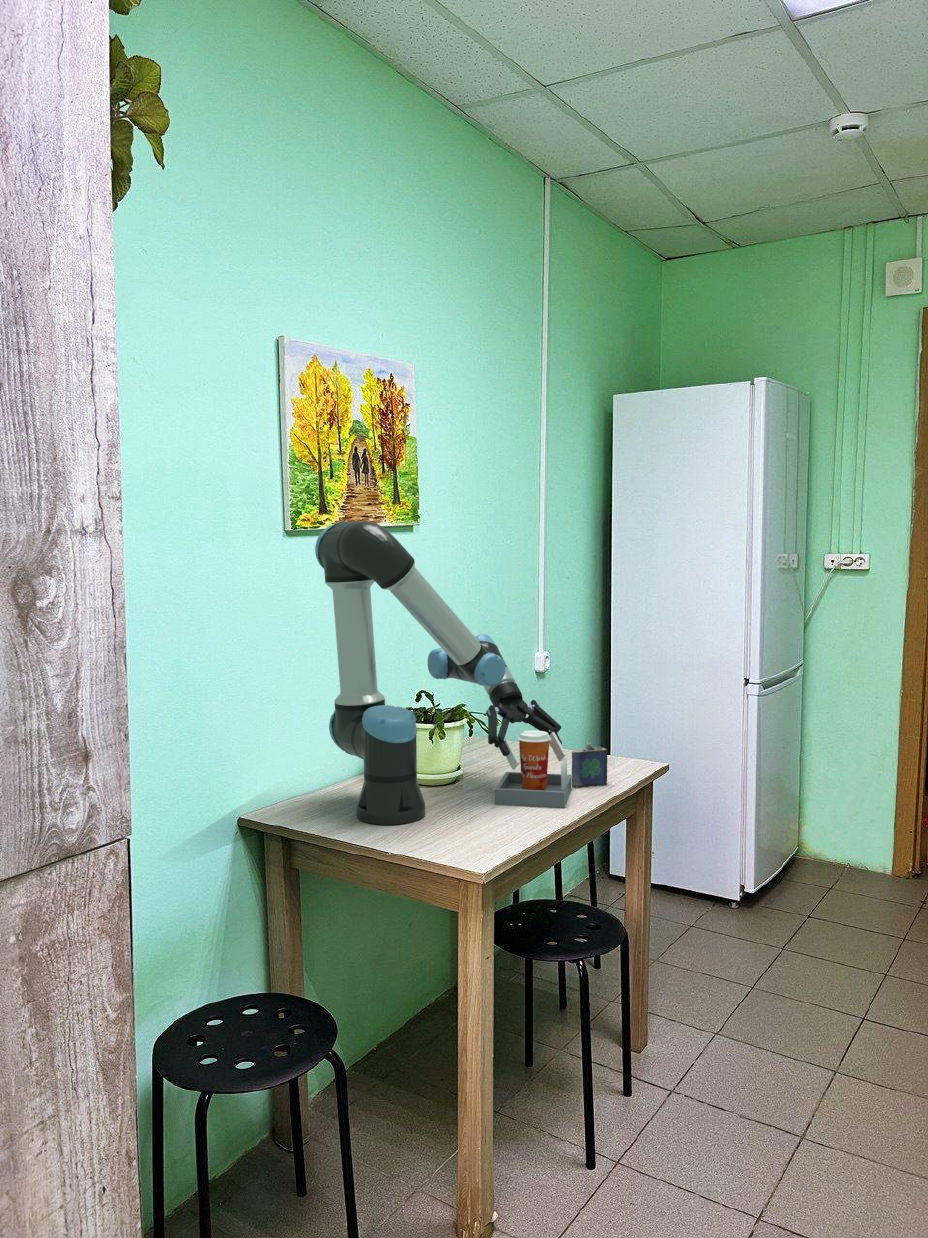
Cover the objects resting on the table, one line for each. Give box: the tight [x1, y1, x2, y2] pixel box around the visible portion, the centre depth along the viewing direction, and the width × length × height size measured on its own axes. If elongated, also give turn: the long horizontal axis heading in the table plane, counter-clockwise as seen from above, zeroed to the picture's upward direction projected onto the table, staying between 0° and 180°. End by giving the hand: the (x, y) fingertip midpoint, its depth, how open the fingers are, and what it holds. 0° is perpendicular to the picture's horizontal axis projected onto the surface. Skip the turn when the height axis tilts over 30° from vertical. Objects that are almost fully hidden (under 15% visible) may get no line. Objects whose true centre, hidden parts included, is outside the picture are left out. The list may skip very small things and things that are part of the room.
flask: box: [571, 741, 609, 789], centre depth 224 cm, size 9×3×11 cm, turn 105°
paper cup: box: [517, 730, 551, 791], centre depth 215 cm, size 8×8×14 cm
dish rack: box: [493, 756, 572, 809], centre depth 215 cm, size 16×16×10 cm
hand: (539, 762), depth 212 cm, fingers open, 13 cm apart
